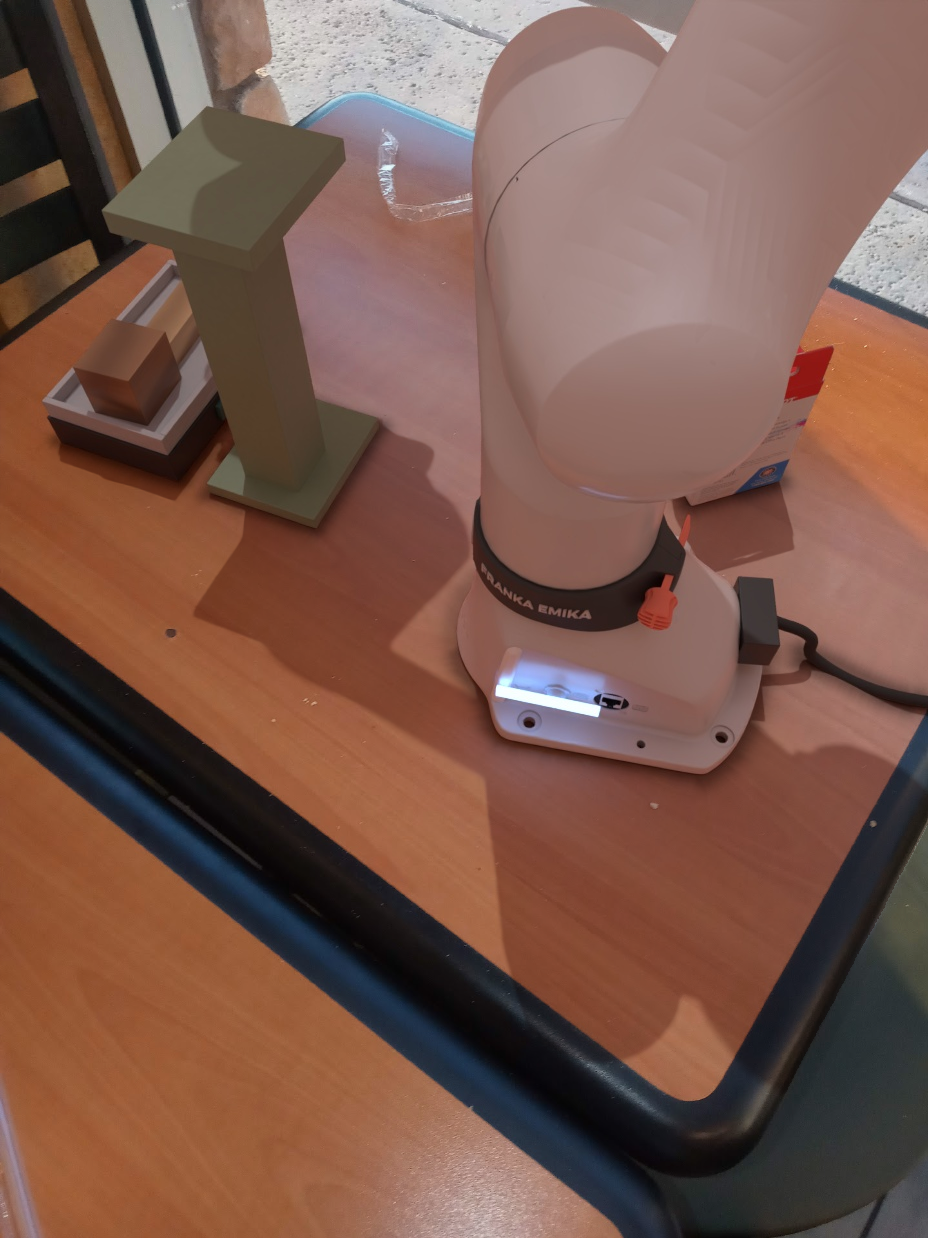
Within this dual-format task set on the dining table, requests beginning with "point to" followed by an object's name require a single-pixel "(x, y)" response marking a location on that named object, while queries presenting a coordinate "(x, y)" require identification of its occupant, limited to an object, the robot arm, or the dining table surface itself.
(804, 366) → the ink box
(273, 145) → the stand
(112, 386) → the mallet
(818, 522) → the dining table surface
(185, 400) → the scale
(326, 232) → the dining table surface
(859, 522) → the dining table surface
